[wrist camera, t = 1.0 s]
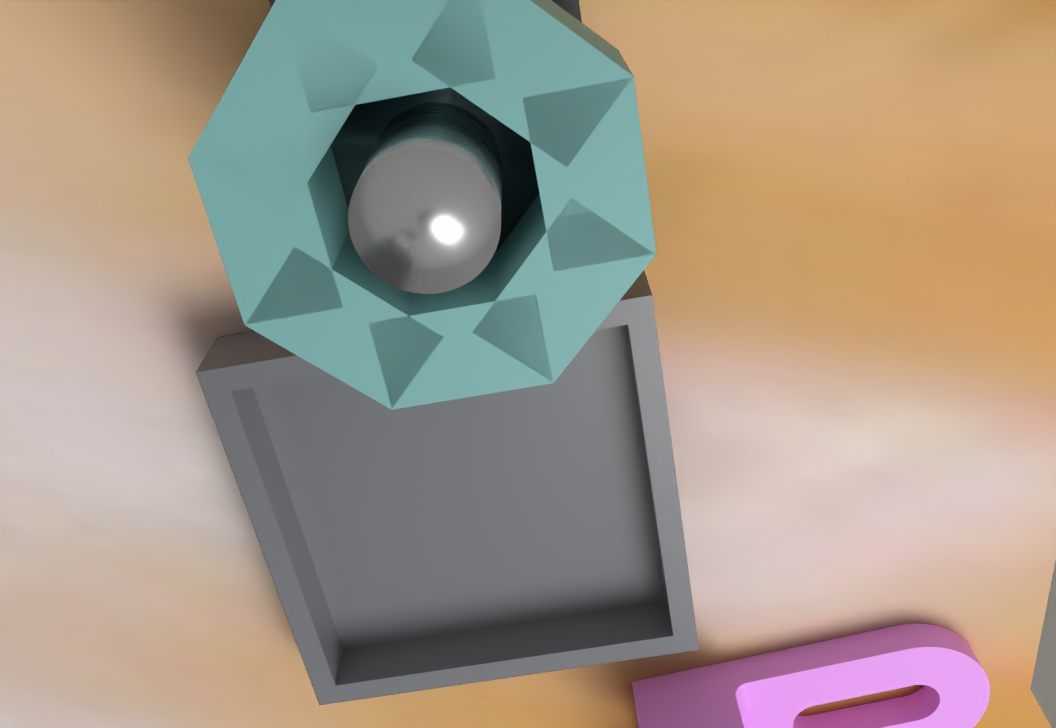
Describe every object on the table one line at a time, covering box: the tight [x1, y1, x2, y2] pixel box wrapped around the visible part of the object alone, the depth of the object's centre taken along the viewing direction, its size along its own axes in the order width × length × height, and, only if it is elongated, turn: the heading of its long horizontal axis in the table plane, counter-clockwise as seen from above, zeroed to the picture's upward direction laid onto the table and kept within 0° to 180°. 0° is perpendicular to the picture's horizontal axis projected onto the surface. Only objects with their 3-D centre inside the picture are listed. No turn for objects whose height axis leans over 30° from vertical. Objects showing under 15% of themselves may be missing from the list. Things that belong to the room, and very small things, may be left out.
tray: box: [196, 270, 699, 705], centre depth 33 cm, size 14×14×2 cm
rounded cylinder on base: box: [269, 0, 582, 294], centre depth 24 cm, size 8×8×10 cm
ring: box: [188, 0, 656, 410], centre depth 21 cm, size 9×11×3 cm
